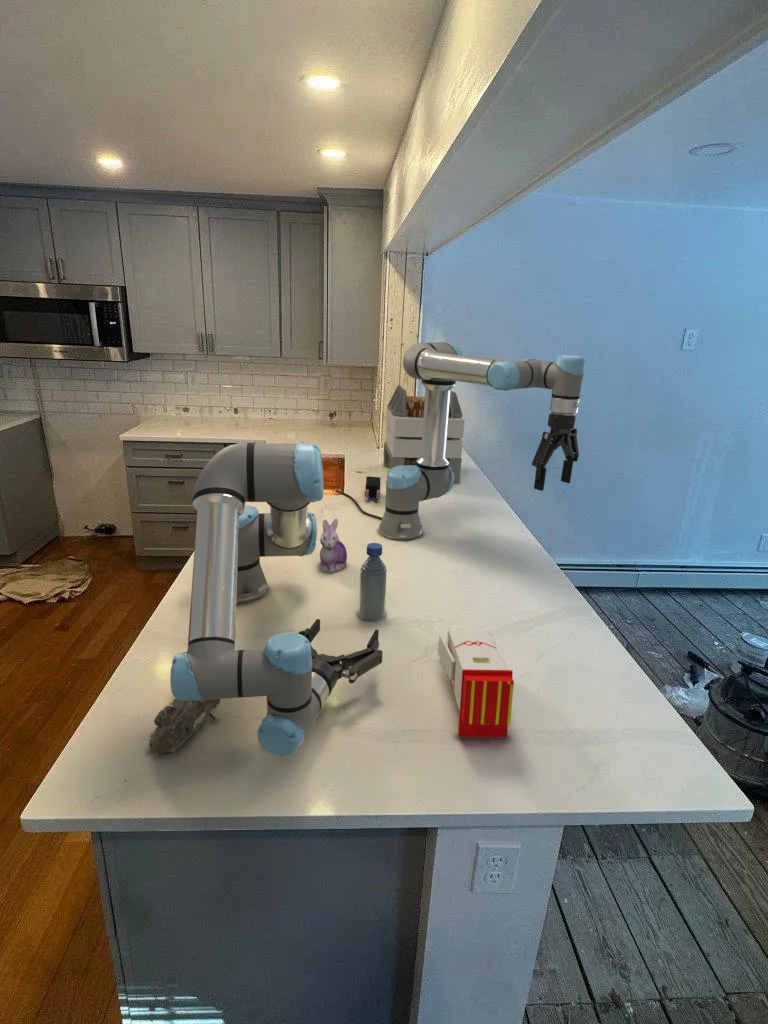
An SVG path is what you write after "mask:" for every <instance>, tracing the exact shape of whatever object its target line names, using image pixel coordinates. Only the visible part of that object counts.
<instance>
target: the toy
mask: <svg viewBox="0 0 768 1024" xmlns="http://www.w3.org/2000/svg"><path fill="white" fill-rule="evenodd" d="M446 640H447V643H446V641H445V639H444V636H443V635H442V634H439V637H438V646H437V656H438V657H439V659H440V661H441V663H442V666H443V668H444V670H445V672H446V674H447V677H448V679H449V681H450V684H451V687H452V690H453V693H454V697H455V701H456V705H457V708H458V711H459V714H458V715H459V716H458V730H457V731H458V732H457V737H458V738H508V731H509V726H510V725H511V717H512V707H513V697H514V696H513V695H514V684H515V680H514V679H513V673H514V671H513V670H512V669H508V667H507V665H506V662H505V661H504V659H503V658H502V655H501V653H500V651H499V649H498V647H497V643H496V639H495V637H494V635H493V634H491V632H490V631H489V629H467V628H466V629H465V628H463V629H461V628H460V629H459V628H448V630H447V639H446Z"/></svg>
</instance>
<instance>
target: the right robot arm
mask: <svg viewBox="0 0 768 1024" xmlns="http://www.w3.org/2000/svg"><path fill="white" fill-rule="evenodd" d="M585 365H586V360H585V358H584V357H582V356H578V355H566V354H565V355H564V354H563V355H558V356H557V357H556V360H555V361H549V360H541V359H536V358H524V359H521V360H506V359H505V360H504V359H503V360H502V359H496V358H487V357H479V356H471V355H464V354H463V352H462V350H461V349H460V347H459V346H457V345H456V344H455V343H451V342H445V341H443V342H442V341H441V342H440V341H439V342H438V341H437V342H417V343H414V344H412V345H411V346H409V347H408V348H407V350H406V351H405V353H404V355H403V358H402V366H403V369H404V372H405V373H406V374H407V375H408V376H409V377H411V378H412V379H415V380H421V385H422V386H423V387H424V389H425V392H424V397H425V404H424V419H423V434H422V449H421V457H420V458H418V459H417V461H416V466H413V465H401V466H396V467H394V468H392V469H390V468H389V470H388V472H387V474H386V479H385V504H384V505H385V507H384V508H385V509H384V513H383V515H382V517H381V516H379V515H375V514H372V513H369V512H367V511H365V510H363V509H362V507H361V506H360V504H359V503H358V502H357V500H355V498H353V496H352V495H349V494H347V493H346V492H343V491H340V490H338V489H336V490H335V492H336V493H339V494H341V495H343V496H345V497H348V498H349V499H350V500H351V501H352V502H354V504H355V505H356V507H357V508H358V510H359V511H360V512H361V513H362V514H364V515H366V516H369V517H372V518H375V519H379V520H381V522H379V525H378V533H379V534H380V535H381V536H382V537H385V538H387V539H389V540H395V541H410V540H415V539H418V538H420V537H421V536H422V535H423V525H422V524H421V518H420V515H419V507H420V506H419V505H420V502H423V501H427V500H431V499H437V498H440V497H443V496H446V495H448V493H450V492H451V490H452V489H453V488H454V487H453V486H454V484H455V483H454V473H452V469H451V467H450V466H449V462H448V461H447V459H446V458H445V453H446V441H447V428H448V416H449V404H450V392H451V391H452V389H453V388H454V387H455V386H456V384H457V382H461V383H465V384H473V385H479V386H487V387H491V388H492V389H494V390H496V391H503V392H504V391H511V390H520V389H532V388H533V389H534V388H539V389H546V390H551V398H550V404H549V413H548V418H547V419H548V420H547V426H548V427H549V428H550V431H549V432H548V431H543V432H542V435H541V440H540V442H539V445H538V447H537V449H536V452H535V454H534V457H533V460H532V461H531V466H533V467H535V475H534V477H535V478H534V485H533V489H534V490H537V491H539V492H543V491H544V489H545V484H546V483H545V482H546V476H547V468H546V466H547V465H548V463H549V461H550V459H551V457H552V456H553V454H554V453H555V451H556V450H557V449H558V448H560V447H561V449H562V452H563V455H564V458H565V459H563V463H562V468H561V469H562V470H561V475H560V482H562V483H566V484H571V478H572V472H573V466H574V463H576V462H578V461H579V457H580V453H579V444H578V428H576V423H577V419H578V416H577V414H578V412H579V411H578V410H579V406H580V397H581V391H582V385H583V380H584V376H585Z"/></svg>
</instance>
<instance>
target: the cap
mask: <svg viewBox="0 0 768 1024" xmlns="http://www.w3.org/2000/svg"><path fill="white" fill-rule="evenodd" d="M366 555H367V556H368V557H369V556H371V557H378V556H379V557H381V556H382V555H383V545H382V544H381V543H379V542H370V543H367V544H366Z"/></svg>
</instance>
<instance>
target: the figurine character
mask: <svg viewBox="0 0 768 1024" xmlns="http://www.w3.org/2000/svg"><path fill="white" fill-rule="evenodd" d="M364 490H365V491H364V498H365V499H367V502H370V501H371V500H374V502H375V503H376V502H377V501H378V500H377V499H380V495H381V476H368V475H367V476H366V479H365V489H364Z"/></svg>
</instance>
